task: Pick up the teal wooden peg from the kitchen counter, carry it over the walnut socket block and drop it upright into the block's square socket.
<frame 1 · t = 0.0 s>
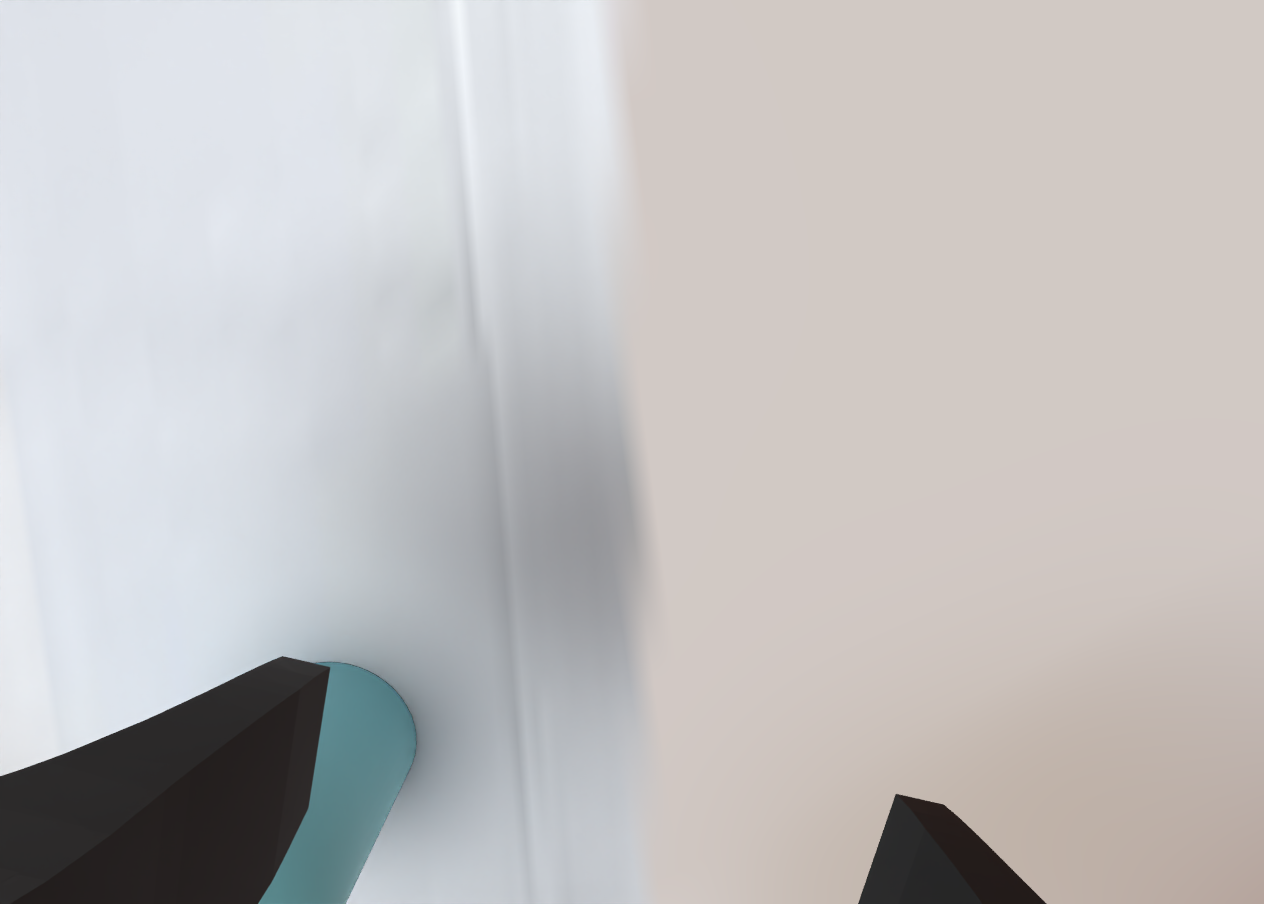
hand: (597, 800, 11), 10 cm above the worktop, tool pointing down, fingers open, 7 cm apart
peg: (336, 735, 23), on the worktop
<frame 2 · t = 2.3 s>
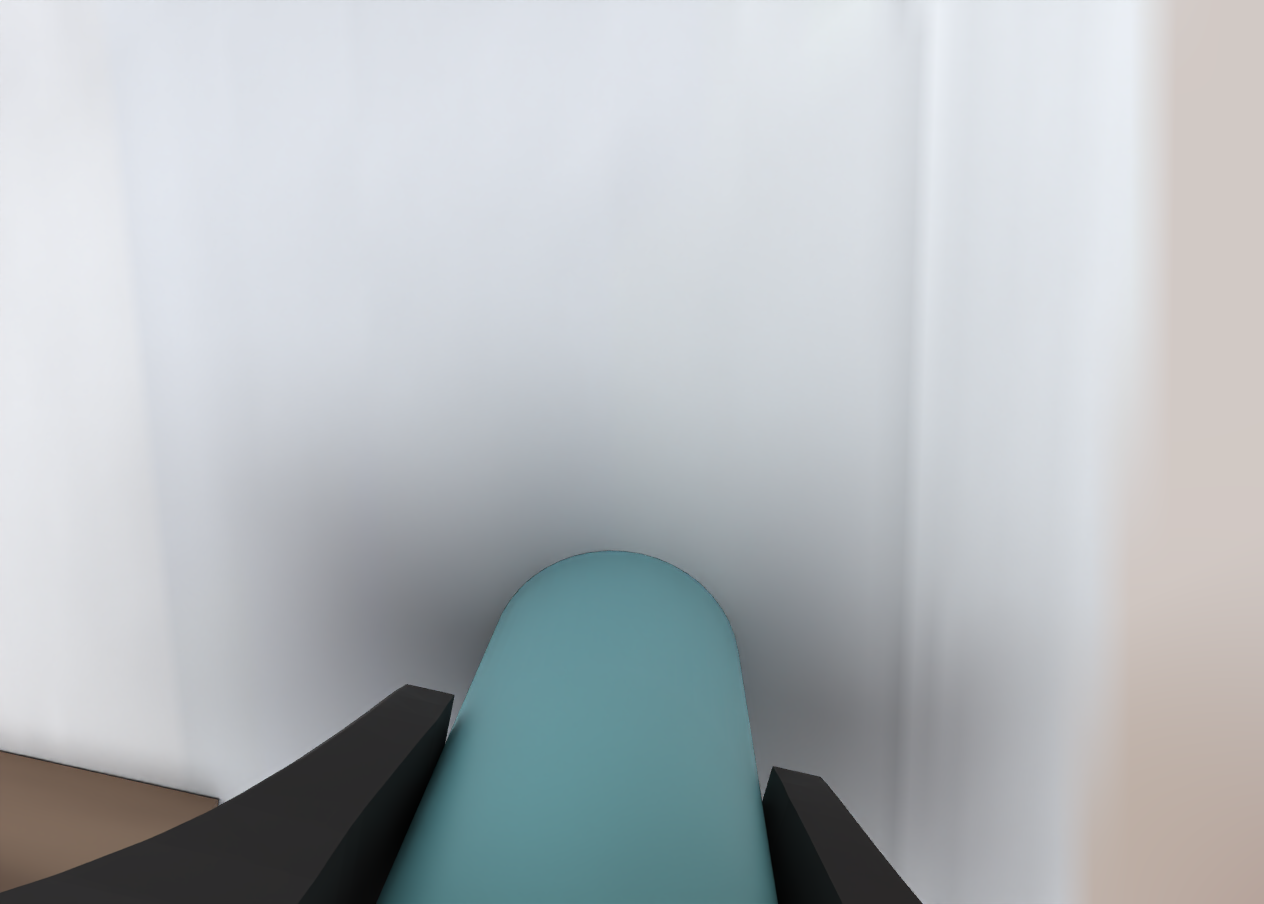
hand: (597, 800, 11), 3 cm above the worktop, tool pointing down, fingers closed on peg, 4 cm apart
peg: (614, 668, 15), on the worktop, touching gripper
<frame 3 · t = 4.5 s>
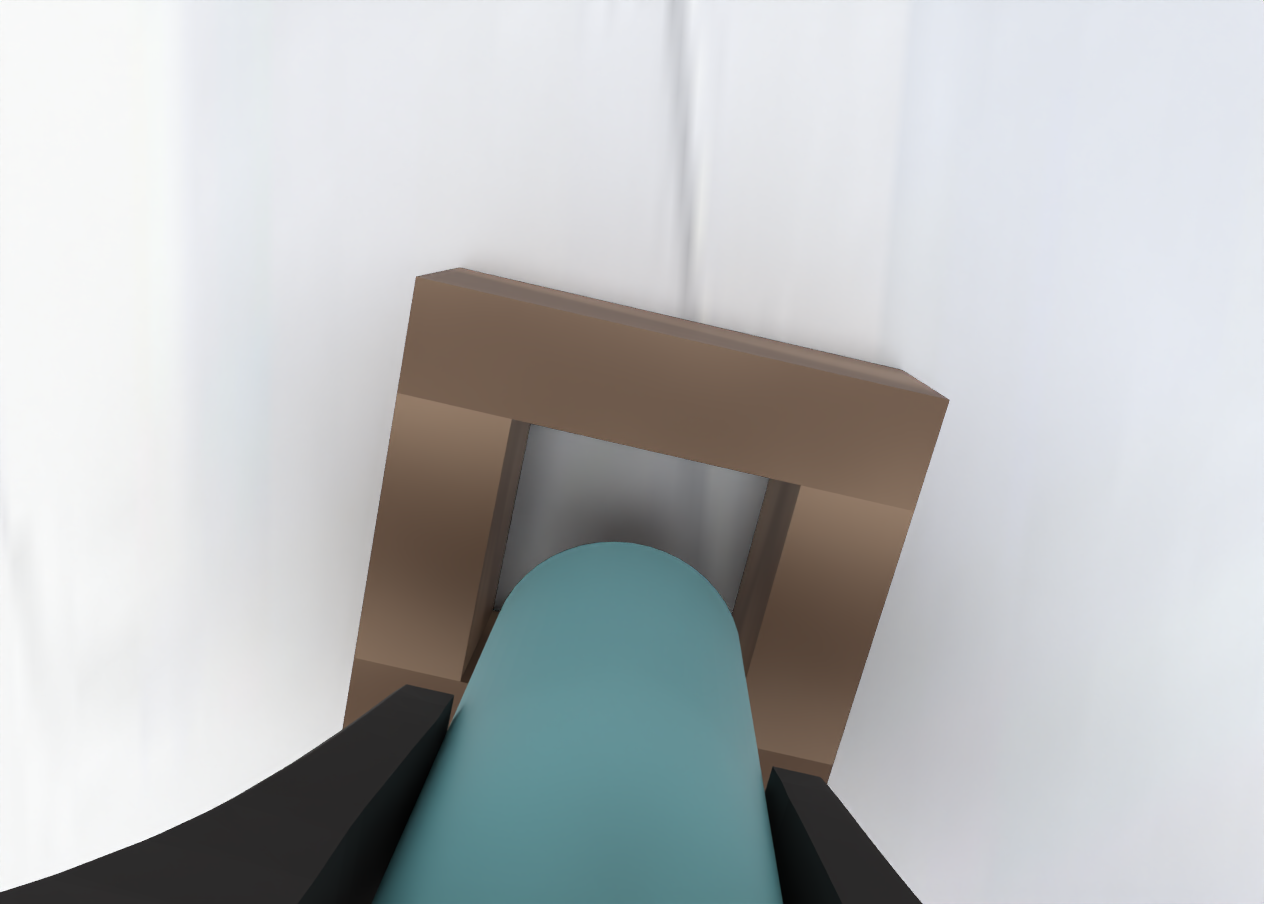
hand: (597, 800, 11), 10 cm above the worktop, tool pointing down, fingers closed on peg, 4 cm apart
socket block: (631, 528, 21), on the worktop
peg: (615, 660, 15), point 7 cm above the worktop, touching gripper
when the fingers open (5 cm above the worktop, at t = 6.7 s): peg drops 2 cm, resting in socket block.
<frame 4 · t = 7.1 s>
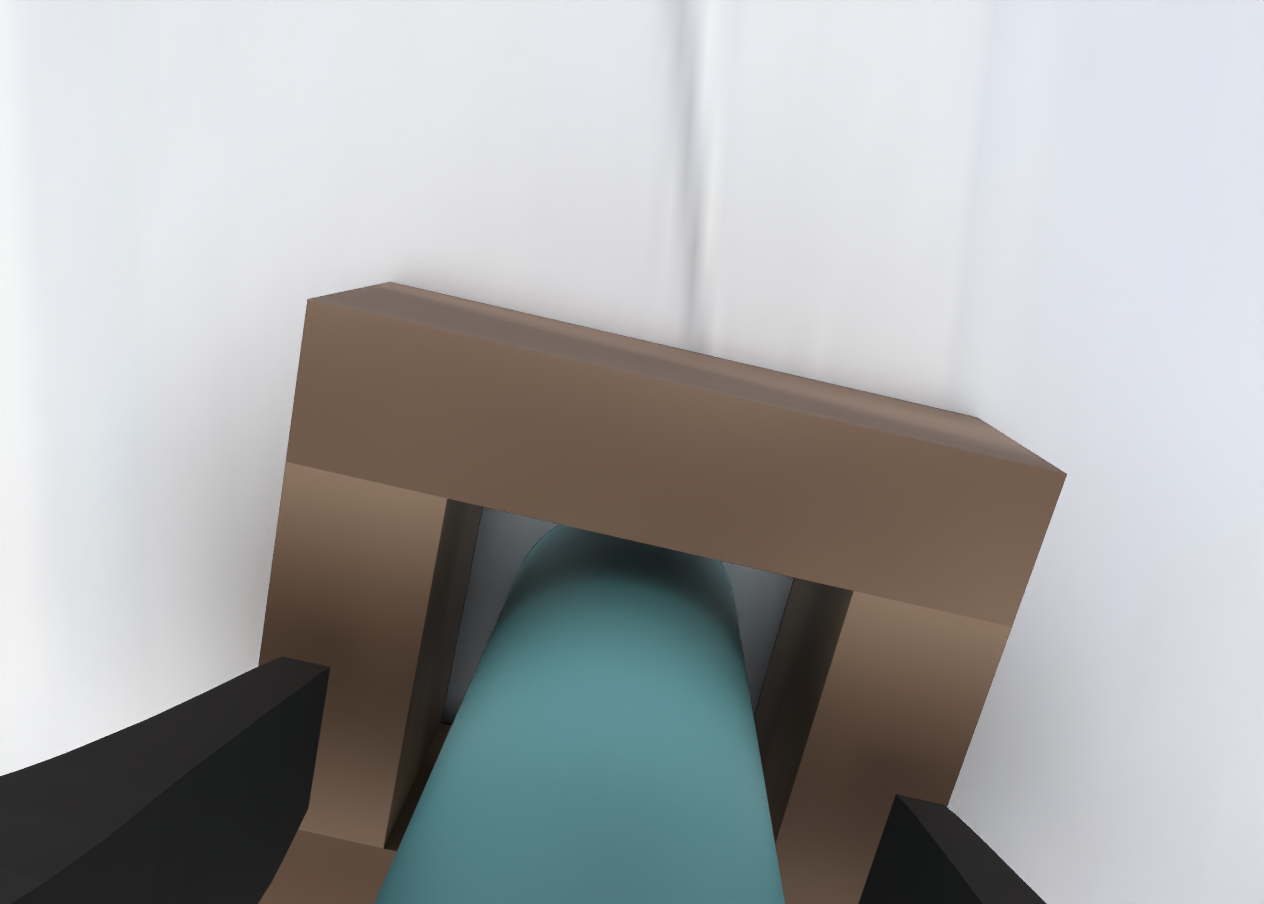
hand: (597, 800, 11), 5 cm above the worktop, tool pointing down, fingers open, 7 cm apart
socket block: (619, 621, 16), on the worktop
peg: (622, 613, 16), resting in socket block
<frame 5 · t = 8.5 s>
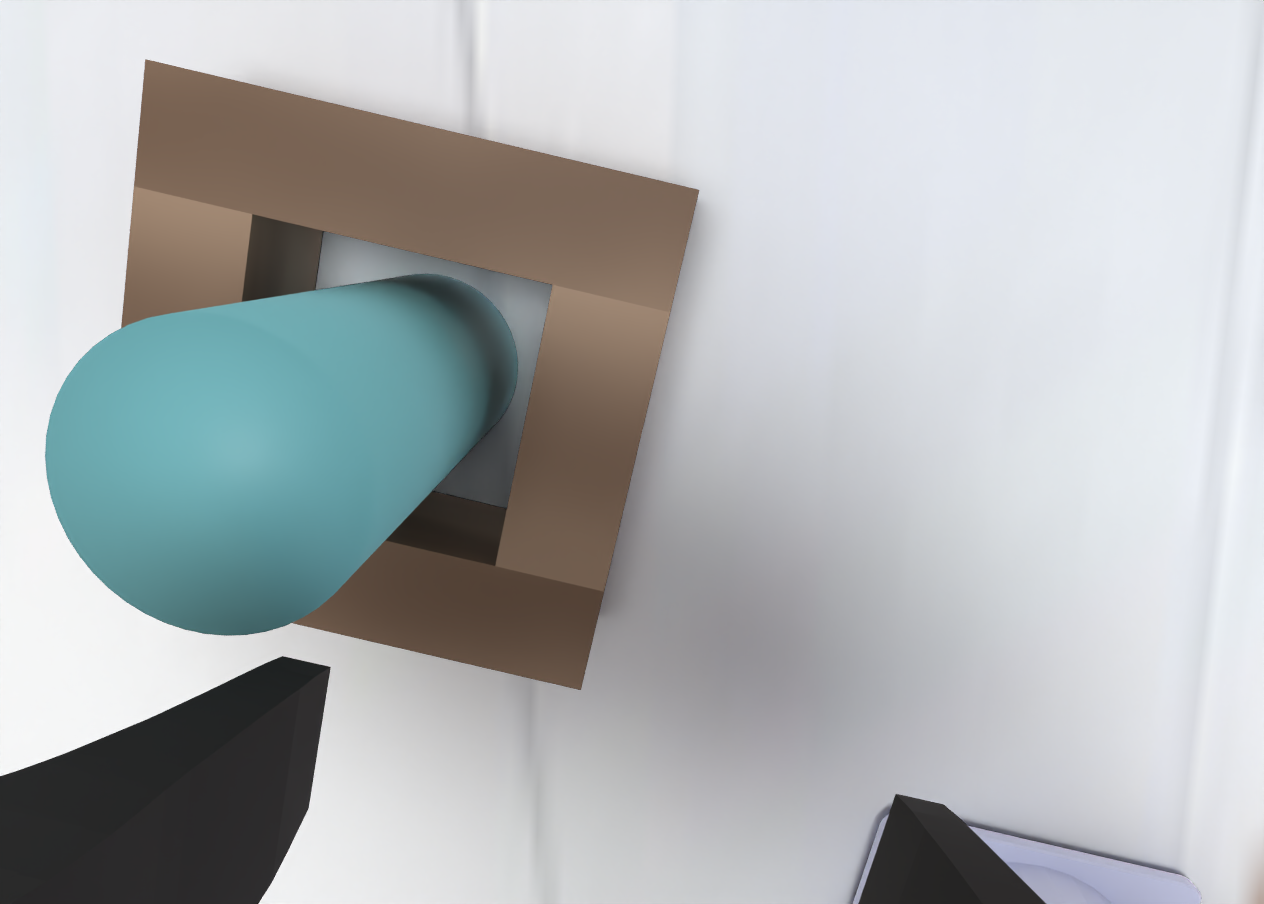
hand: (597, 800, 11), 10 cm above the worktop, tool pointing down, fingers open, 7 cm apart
socket block: (427, 370, 21), on the worktop
peg: (430, 363, 21), resting in socket block
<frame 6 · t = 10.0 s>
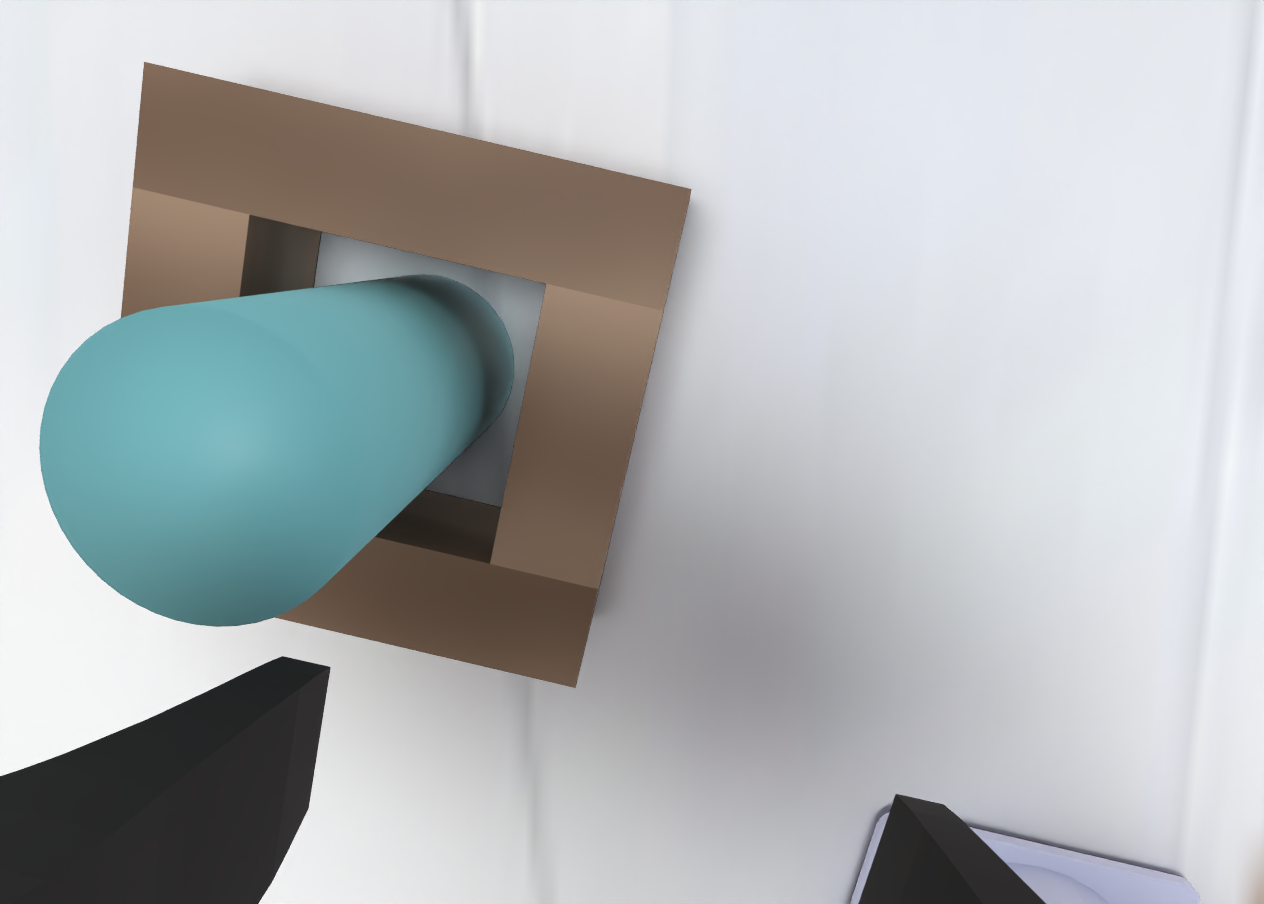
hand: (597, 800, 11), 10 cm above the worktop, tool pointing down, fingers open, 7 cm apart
socket block: (424, 370, 21), on the worktop
peg: (427, 363, 21), resting in socket block
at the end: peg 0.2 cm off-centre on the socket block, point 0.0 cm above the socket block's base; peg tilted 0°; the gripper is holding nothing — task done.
